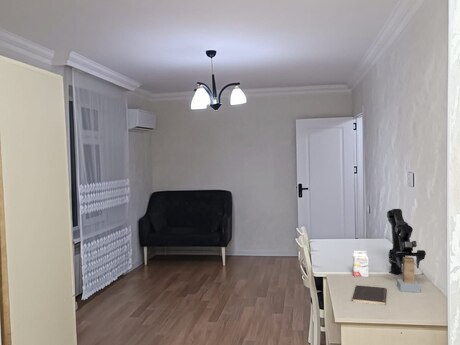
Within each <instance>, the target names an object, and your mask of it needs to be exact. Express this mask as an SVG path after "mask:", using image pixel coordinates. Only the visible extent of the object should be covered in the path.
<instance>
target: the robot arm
mask: <svg viewBox="0 0 460 345" xmlns="http://www.w3.org/2000/svg"><path fill="white" fill-rule="evenodd" d="M386 218H387V221H388V222H389V224H390V226H391V237H392V239H391V240H392V248H391V249H389V250H388V263H389V264H390V271H388V273H389V274H393V275H403V257H415V258H416V259H415V263H416V268H417V269H419V266H420V262H421V261H423V260H425V257H426V254H427V253H426V251H425V250H423V249H422V250H421V249H417V250H416V252H414V251H413V250H414V248H417V240H412V241H411V237H412V234H413V227H412V225H410V224H409V223H408V222H407V221H405V219H404V217H403V211H402V209H401V208H392V209H389V210H387V212H386Z"/></svg>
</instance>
